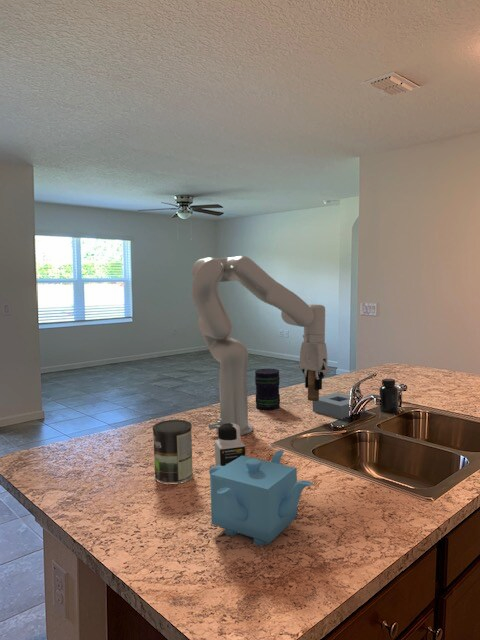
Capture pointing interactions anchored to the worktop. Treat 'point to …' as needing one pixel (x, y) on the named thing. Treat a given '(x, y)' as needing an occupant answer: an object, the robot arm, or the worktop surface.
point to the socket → (333, 405)
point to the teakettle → (255, 497)
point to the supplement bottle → (388, 396)
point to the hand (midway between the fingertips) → (313, 388)
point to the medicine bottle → (228, 444)
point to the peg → (312, 387)
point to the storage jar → (267, 389)
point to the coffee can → (173, 451)
